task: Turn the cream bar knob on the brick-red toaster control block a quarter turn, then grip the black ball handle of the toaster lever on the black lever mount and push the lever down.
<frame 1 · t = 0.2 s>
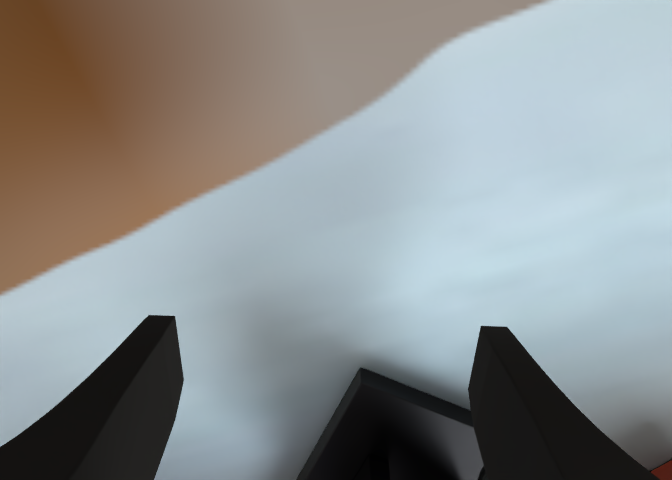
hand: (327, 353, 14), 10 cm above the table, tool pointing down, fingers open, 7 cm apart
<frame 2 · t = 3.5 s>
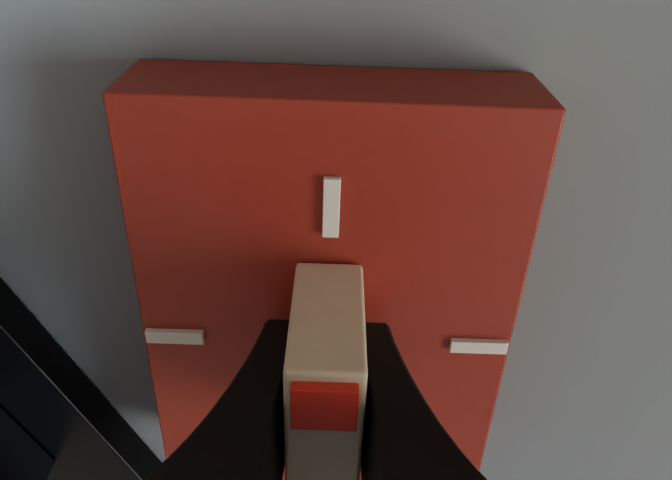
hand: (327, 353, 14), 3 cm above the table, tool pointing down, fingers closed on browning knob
dial panel: (329, 279, 17), on the table
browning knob: (324, 397, 13), point 4 cm above the table, hinge at 0.0°, touching gripper
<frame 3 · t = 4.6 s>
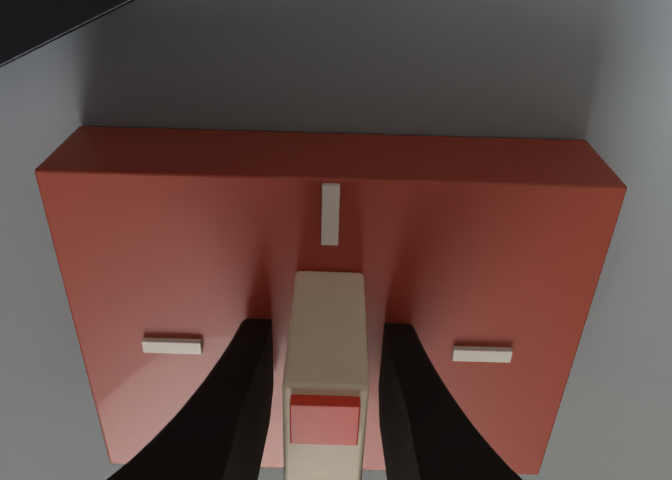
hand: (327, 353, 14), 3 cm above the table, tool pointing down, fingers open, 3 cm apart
dial panel: (329, 286, 17), on the table
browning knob: (325, 408, 13), point 4 cm above the table, hinge at 89.6°
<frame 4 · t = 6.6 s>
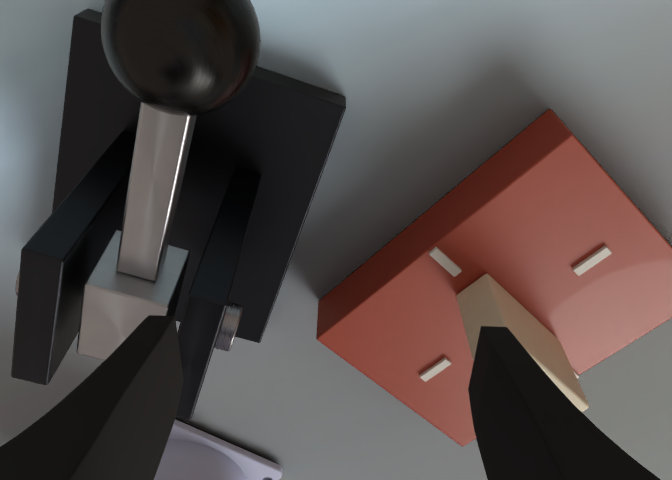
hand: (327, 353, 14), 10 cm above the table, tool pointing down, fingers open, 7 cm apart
dial panel: (494, 279, 25), on the table
black lever mount: (188, 190, 23), on the table
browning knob: (520, 351, 21), point 4 cm above the table, hinge at 89.6°
toaster lever: (155, 186, 15), point 7 cm above the table, hinge at 6.0°
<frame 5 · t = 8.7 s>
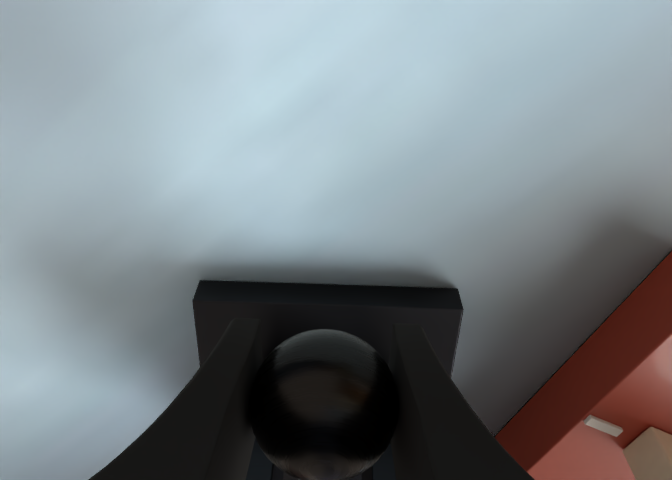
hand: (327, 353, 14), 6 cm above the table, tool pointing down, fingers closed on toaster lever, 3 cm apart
dial panel: (653, 404, 24), on the table
black lever mount: (325, 396, 24), on the table
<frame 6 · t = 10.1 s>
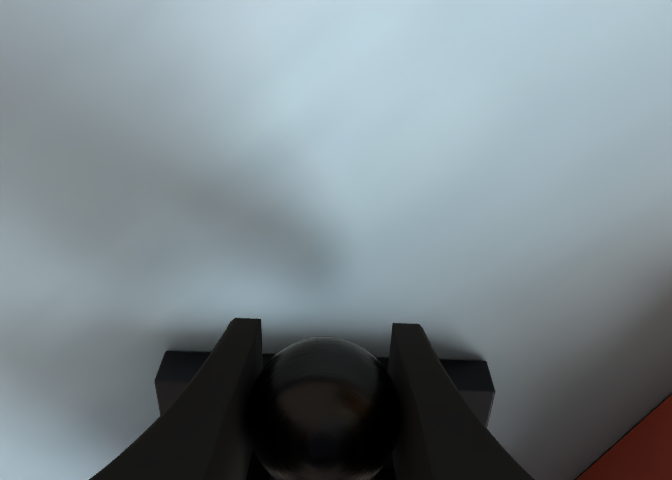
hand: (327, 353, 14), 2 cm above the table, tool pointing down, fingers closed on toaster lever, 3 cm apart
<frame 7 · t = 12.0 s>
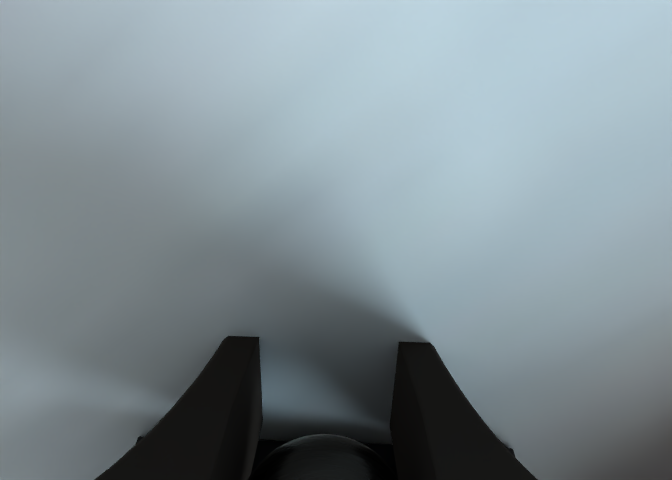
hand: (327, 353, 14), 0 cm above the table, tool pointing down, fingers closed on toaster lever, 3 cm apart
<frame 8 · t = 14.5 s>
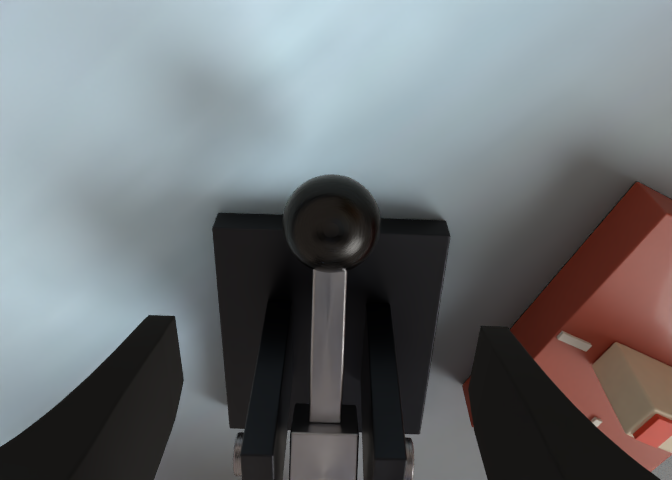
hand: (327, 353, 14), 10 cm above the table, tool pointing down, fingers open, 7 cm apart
dial panel: (622, 331, 27), on the table
black lever mount: (328, 324, 27), on the table
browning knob: (668, 408, 23), point 4 cm above the table, hinge at 89.6°
toaster lever: (327, 340, 20), point 5 cm above the table, hinge at -23.8°
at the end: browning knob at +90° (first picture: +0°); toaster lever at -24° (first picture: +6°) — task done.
